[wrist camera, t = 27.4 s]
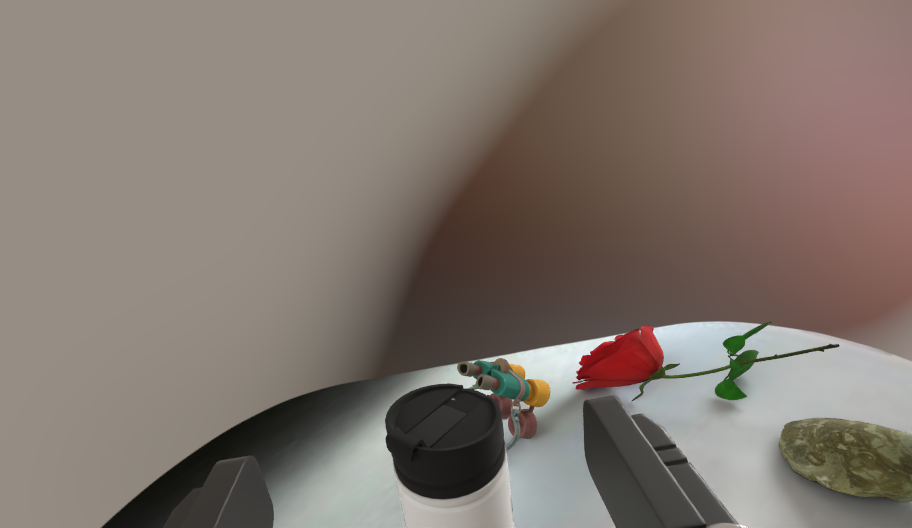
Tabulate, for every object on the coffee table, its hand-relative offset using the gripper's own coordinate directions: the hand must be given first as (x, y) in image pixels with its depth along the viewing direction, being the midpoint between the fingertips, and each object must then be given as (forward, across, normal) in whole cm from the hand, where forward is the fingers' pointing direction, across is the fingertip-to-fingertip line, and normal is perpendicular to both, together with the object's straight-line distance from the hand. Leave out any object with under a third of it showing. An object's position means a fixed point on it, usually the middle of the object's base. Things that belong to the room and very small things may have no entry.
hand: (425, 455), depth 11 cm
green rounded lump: (+20, -36, +28) cm, 50 cm away
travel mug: (+11, 0, +27) cm, 29 cm away
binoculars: (+32, -6, +28) cm, 44 cm away
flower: (+35, -30, +28) cm, 54 cm away
